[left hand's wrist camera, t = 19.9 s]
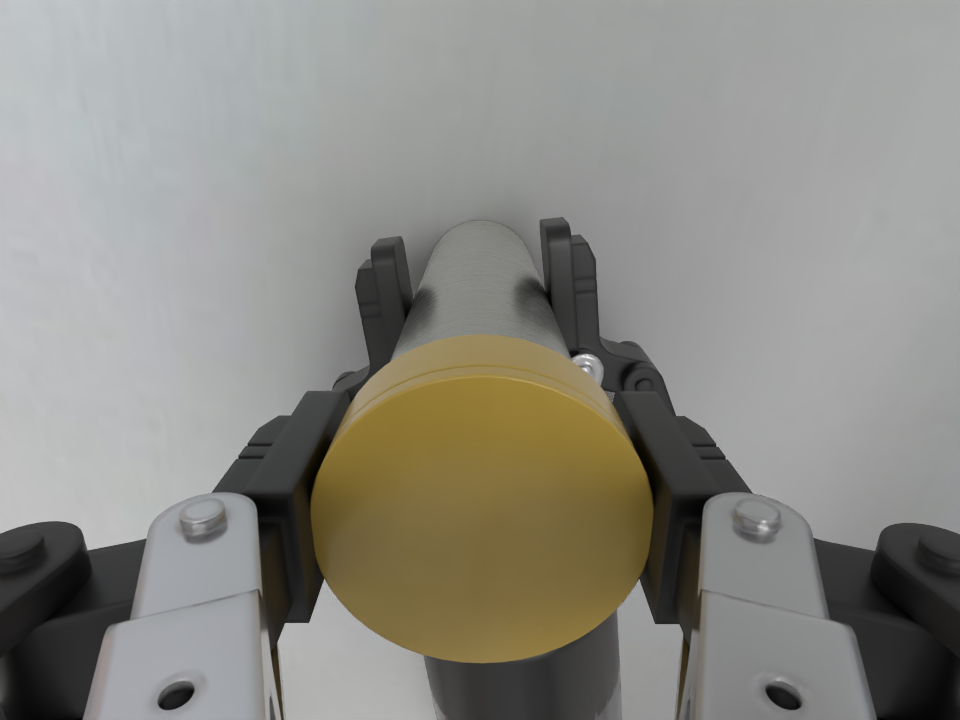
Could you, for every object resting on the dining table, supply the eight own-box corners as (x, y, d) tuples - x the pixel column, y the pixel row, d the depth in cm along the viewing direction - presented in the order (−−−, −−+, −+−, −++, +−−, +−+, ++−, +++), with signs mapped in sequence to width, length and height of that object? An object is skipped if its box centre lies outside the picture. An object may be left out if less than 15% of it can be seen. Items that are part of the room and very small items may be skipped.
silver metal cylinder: (509, 202, 24) (561, 338, 9) (548, 299, 25) (653, 565, 10) (410, 245, 25) (293, 444, 9) (454, 338, 26) (416, 644, 11)
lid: (388, 611, 12) (373, 690, 10) (291, 376, 10) (252, 426, 8) (649, 555, 11) (679, 629, 10) (596, 296, 9) (621, 332, 8)
